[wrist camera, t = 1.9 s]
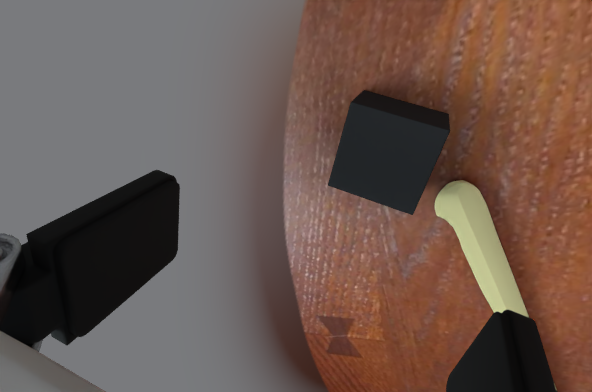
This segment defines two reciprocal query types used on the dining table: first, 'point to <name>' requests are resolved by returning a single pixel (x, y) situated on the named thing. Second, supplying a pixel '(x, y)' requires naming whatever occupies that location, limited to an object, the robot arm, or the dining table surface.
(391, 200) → the loose pad
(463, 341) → the dining table surface
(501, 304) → the knife
